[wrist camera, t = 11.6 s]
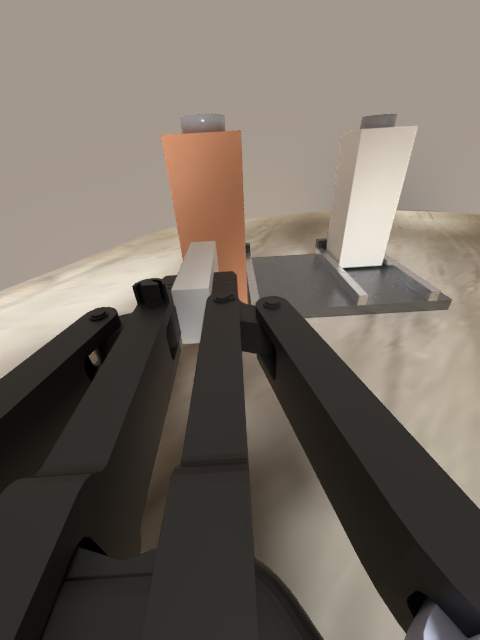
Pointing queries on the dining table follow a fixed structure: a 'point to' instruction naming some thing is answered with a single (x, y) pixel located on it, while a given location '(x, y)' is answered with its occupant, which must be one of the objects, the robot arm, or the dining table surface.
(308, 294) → the dark grey divided tray
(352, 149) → the white square bottle
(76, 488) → the robot arm
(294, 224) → the dining table surface
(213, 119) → the orange square bottle
